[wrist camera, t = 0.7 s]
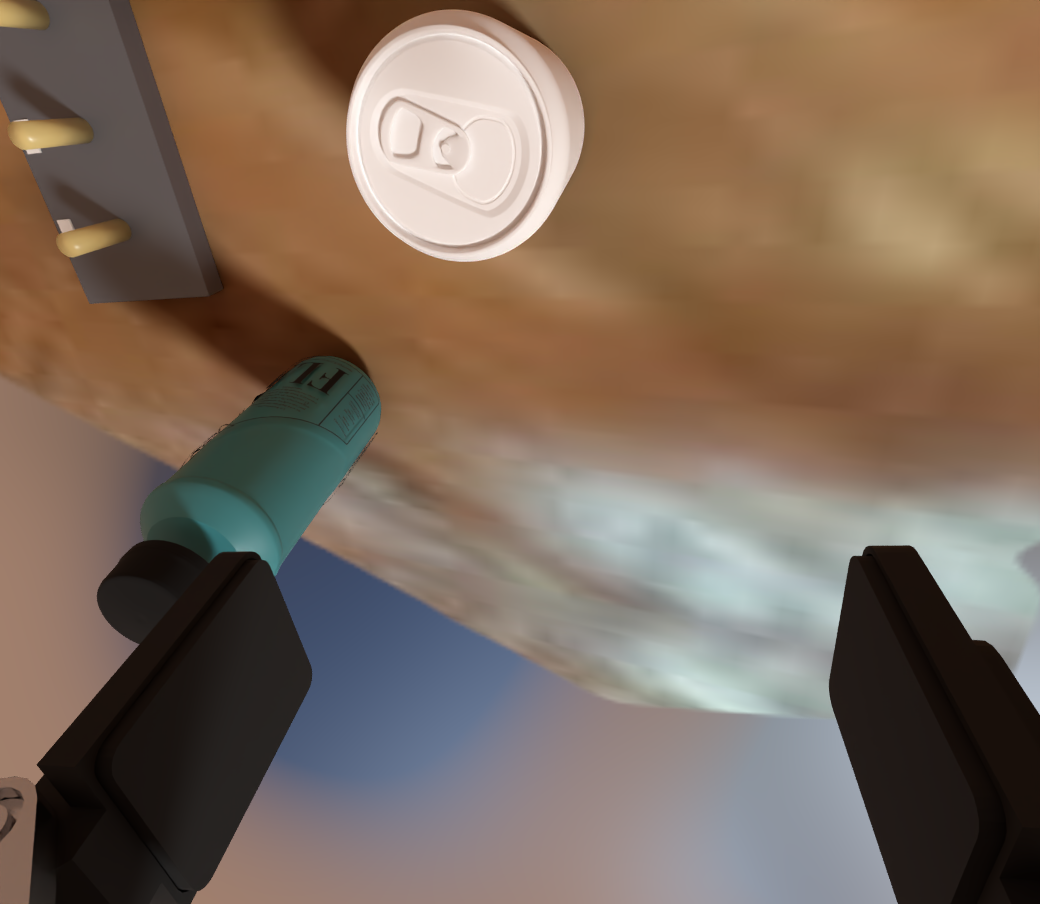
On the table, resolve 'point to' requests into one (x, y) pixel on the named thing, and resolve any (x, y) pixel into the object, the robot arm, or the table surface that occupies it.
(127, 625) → the beverage bottle
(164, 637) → the robot arm
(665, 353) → the table surface
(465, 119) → the beverage can
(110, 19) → the header
